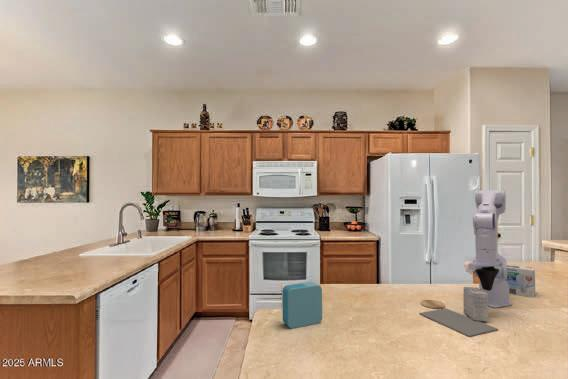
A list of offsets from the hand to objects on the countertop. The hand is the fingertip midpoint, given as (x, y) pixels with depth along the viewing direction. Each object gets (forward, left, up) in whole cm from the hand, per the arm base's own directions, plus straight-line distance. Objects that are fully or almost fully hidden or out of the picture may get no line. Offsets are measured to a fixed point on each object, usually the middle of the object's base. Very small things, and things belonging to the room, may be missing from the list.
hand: (487, 289), depth 99 cm
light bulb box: (-34, -11, -9) cm, 37 cm away
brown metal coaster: (+9, -14, -8) cm, 19 cm away
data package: (+60, -17, -9) cm, 63 cm away
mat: (+14, 0, -8) cm, 17 cm away
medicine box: (+6, 0, -8) cm, 10 cm away
